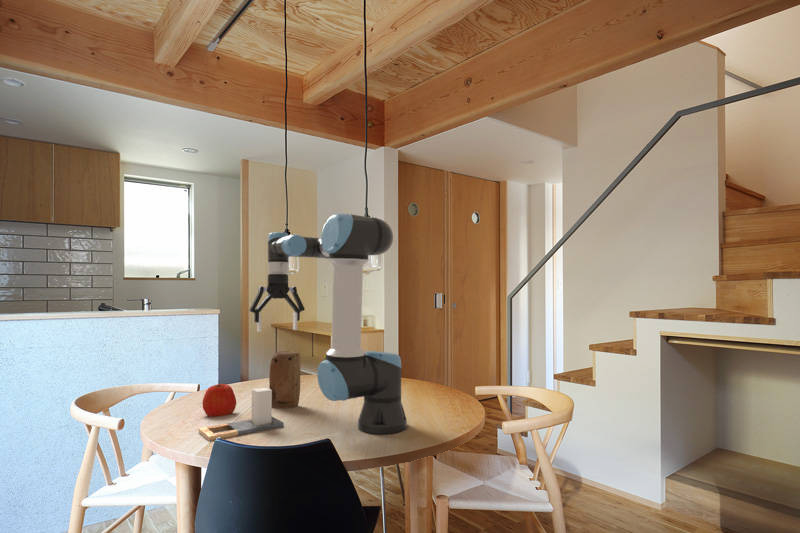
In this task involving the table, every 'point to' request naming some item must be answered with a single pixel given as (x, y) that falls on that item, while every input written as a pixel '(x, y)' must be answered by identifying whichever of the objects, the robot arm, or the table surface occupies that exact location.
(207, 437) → the grey slotted base plate
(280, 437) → the table surface
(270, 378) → the block
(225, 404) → the apple
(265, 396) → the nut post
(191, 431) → the table surface
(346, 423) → the table surface
